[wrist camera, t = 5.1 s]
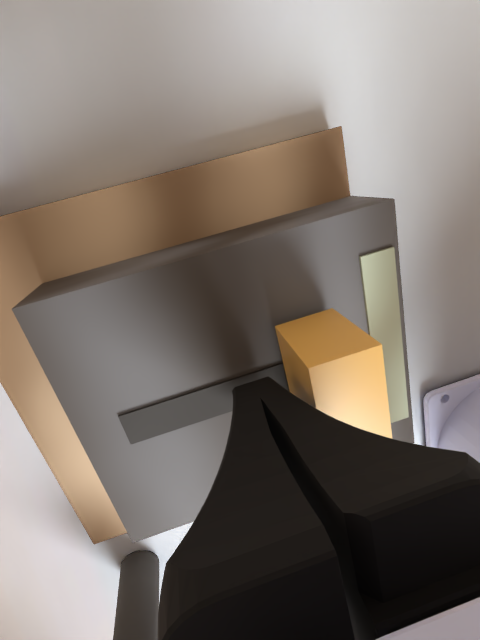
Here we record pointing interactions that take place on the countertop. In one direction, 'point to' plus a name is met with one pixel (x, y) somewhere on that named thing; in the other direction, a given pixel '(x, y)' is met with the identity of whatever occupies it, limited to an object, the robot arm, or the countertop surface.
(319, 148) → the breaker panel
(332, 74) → the countertop surface
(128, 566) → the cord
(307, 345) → the orange cuboid
